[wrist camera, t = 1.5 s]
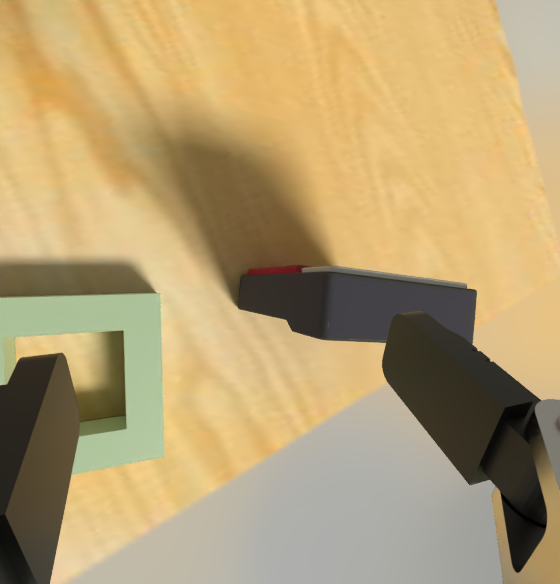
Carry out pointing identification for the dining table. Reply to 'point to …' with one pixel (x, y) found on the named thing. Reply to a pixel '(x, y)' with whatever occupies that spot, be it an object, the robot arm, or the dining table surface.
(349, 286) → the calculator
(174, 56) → the dining table surface
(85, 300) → the socket block
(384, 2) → the dining table surface
